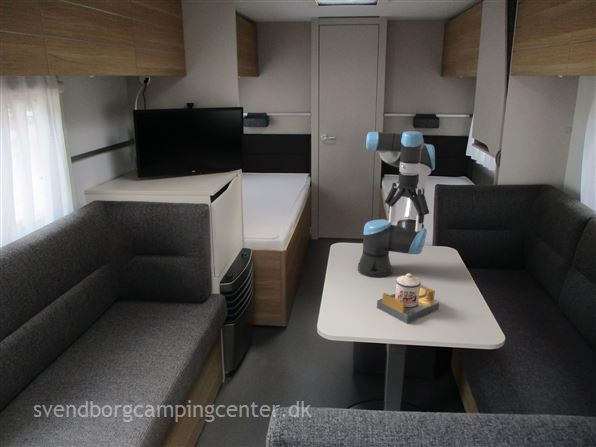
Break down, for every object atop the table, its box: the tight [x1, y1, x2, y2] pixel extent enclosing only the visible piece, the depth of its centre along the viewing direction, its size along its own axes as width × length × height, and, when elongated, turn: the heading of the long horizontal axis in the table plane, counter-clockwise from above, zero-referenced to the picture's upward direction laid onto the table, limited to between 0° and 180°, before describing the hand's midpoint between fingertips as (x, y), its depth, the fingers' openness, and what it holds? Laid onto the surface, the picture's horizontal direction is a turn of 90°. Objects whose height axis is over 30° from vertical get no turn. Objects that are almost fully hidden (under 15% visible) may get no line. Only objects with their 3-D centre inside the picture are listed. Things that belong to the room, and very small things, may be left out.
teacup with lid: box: [395, 273, 428, 307], centre depth 190 cm, size 12×9×12 cm
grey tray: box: [376, 284, 440, 324], centre depth 192 cm, size 15×18×7 cm
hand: (404, 226), depth 197 cm, fingers open, 13 cm apart
